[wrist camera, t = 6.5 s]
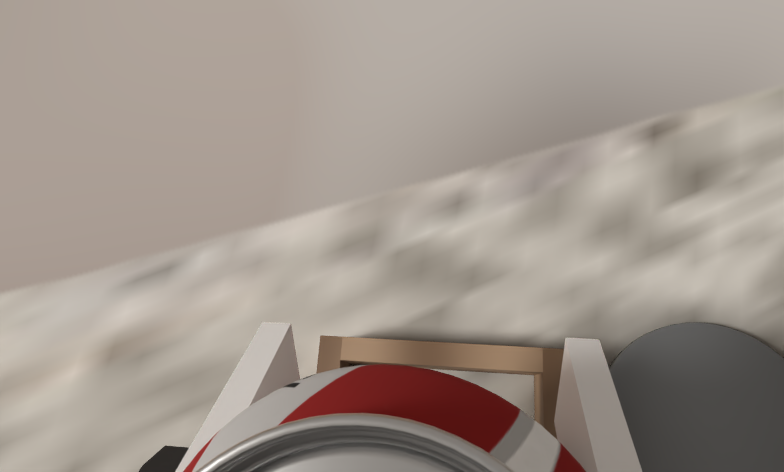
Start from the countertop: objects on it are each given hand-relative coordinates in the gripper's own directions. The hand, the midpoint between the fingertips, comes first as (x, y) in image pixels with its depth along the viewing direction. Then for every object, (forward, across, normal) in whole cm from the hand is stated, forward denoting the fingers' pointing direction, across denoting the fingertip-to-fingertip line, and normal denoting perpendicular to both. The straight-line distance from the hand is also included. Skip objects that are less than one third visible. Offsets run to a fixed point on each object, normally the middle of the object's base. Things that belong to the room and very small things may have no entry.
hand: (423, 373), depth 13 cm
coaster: (+8, +11, -9) cm, 17 cm away
